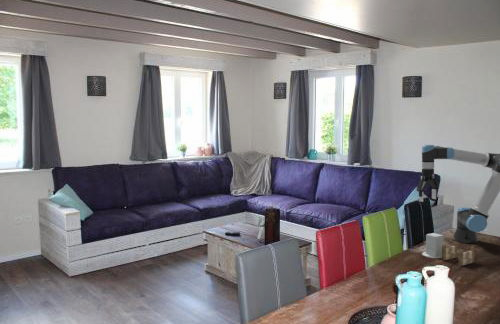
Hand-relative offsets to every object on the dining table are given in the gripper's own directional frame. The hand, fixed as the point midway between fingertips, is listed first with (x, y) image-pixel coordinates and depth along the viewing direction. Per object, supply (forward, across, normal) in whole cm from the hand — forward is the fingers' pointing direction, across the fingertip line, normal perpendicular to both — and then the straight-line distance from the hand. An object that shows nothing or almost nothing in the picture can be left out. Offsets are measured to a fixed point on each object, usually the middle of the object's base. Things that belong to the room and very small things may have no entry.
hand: (427, 200), depth 290 cm
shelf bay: (+30, +15, +31) cm, 46 cm away
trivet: (+30, +17, +16) cm, 38 cm away
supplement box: (+30, +17, +16) cm, 38 cm away
